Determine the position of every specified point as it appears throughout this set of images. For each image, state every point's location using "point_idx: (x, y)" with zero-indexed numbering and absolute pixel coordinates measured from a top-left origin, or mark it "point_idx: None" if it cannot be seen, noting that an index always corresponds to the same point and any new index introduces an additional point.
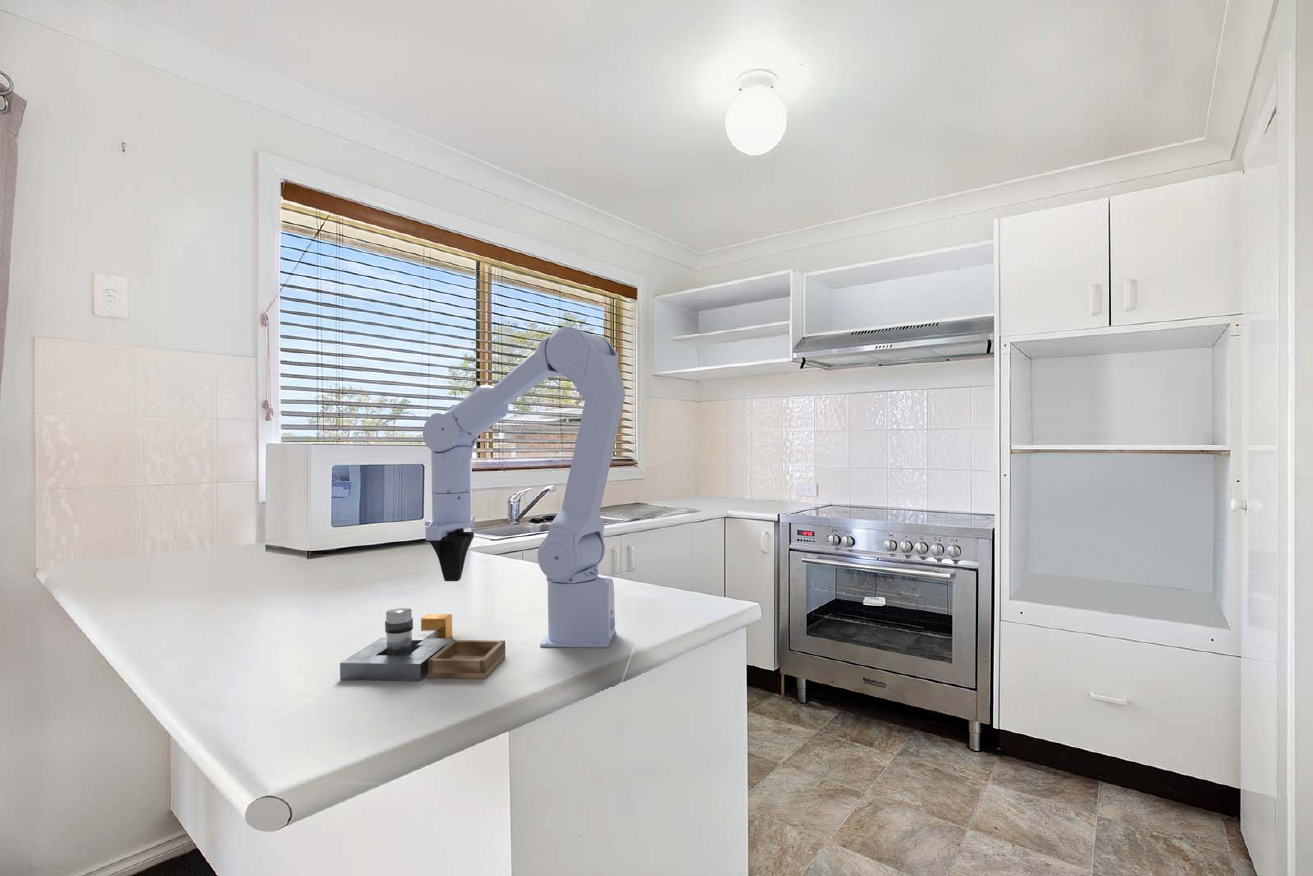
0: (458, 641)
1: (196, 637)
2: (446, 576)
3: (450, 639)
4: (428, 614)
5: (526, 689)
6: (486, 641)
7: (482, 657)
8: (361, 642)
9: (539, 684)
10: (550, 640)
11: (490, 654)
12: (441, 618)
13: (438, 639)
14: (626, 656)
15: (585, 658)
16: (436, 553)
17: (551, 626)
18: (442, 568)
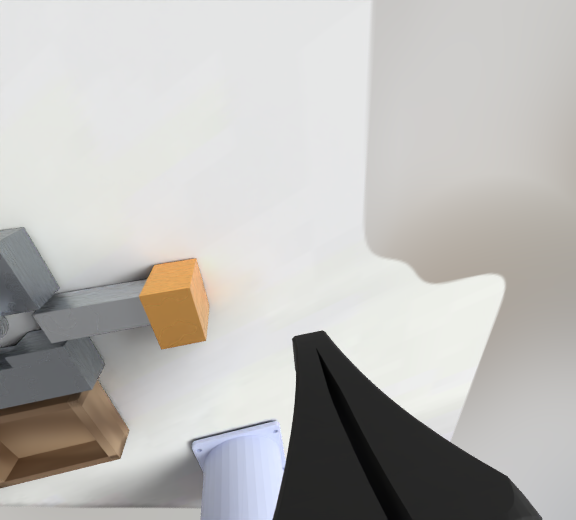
0: (74, 411)
1: None
2: (295, 357)
3: (83, 389)
4: (186, 290)
5: (26, 495)
6: (100, 443)
7: (83, 428)
8: (87, 86)
9: (52, 496)
10: (213, 448)
11: (36, 478)
12: (160, 340)
13: (70, 371)
14: (194, 506)
15: (171, 486)
16: (289, 449)
17: (210, 475)
18: (296, 377)
